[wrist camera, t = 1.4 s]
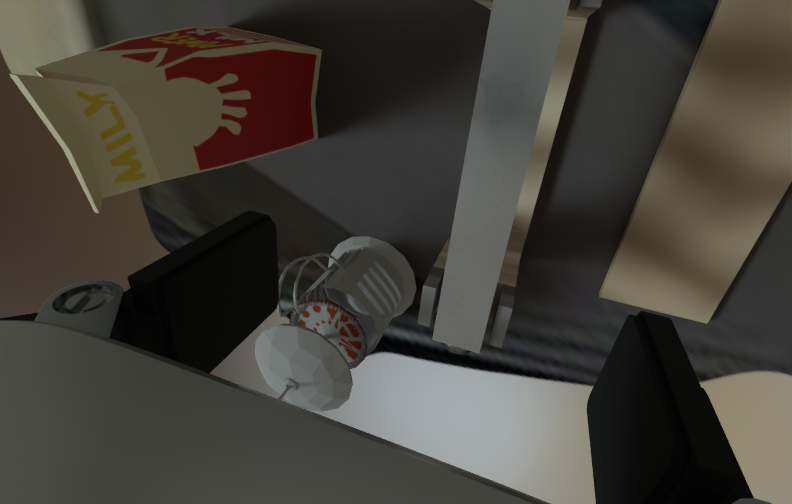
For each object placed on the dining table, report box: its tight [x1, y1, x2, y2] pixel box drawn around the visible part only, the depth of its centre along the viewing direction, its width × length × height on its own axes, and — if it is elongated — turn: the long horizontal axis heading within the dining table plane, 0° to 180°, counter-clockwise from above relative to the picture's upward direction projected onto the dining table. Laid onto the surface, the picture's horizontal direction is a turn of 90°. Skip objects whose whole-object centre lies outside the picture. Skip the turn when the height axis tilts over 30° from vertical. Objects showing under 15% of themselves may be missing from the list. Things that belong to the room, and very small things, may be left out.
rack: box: [417, 0, 602, 348], centre depth 26 cm, size 24×6×12 cm, turn 174°
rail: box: [432, 0, 570, 354], centre depth 21 cm, size 24×3×3 cm, turn 174°
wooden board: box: [599, 0, 792, 323], centre depth 27 cm, size 24×8×1 cm, turn 174°
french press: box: [255, 237, 416, 411], centre depth 31 cm, size 10×12×25 cm
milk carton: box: [9, 27, 322, 213], centre depth 28 cm, size 9×9×20 cm
